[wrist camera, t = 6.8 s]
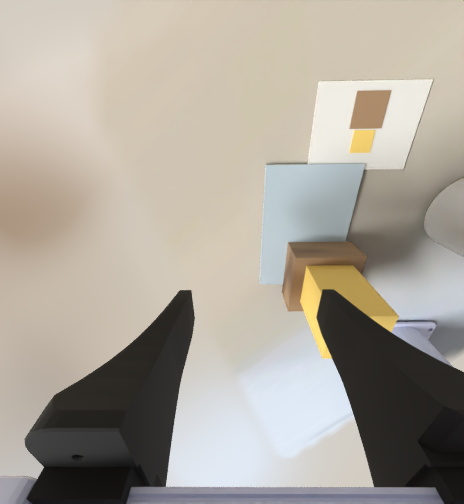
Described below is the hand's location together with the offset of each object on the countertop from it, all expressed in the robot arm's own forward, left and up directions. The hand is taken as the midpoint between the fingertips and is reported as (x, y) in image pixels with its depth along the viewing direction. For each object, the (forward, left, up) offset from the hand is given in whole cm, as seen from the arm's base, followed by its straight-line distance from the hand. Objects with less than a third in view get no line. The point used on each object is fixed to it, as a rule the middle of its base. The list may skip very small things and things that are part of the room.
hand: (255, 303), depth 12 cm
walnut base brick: (-4, -7, -10) cm, 13 cm away
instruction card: (+8, -9, -10) cm, 16 cm away
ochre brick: (-4, -7, -7) cm, 10 cm away
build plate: (0, -6, -10) cm, 12 cm away
